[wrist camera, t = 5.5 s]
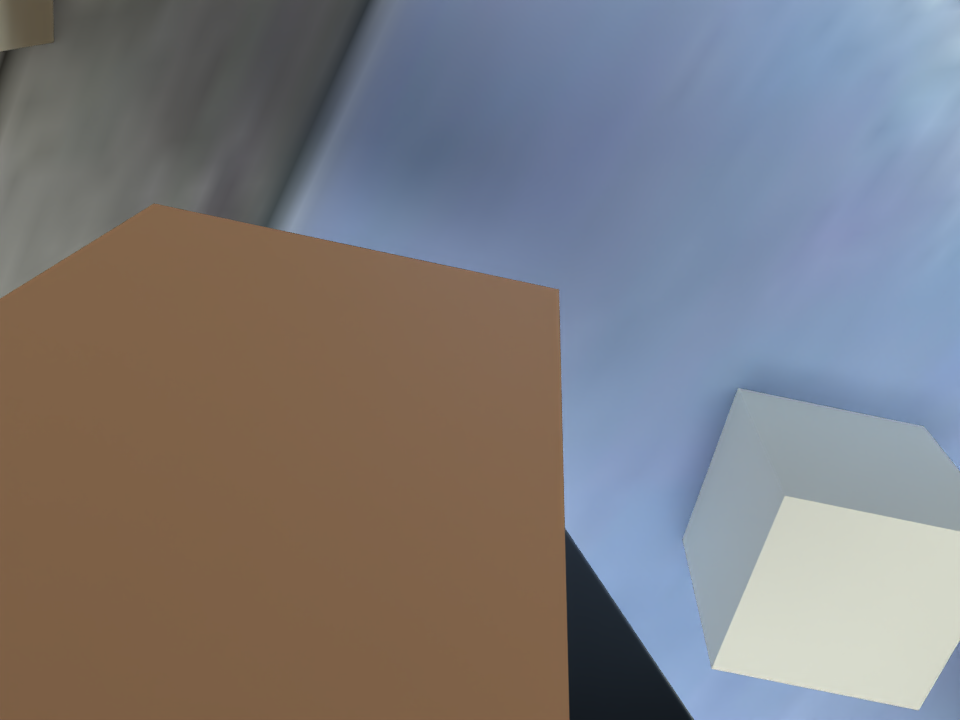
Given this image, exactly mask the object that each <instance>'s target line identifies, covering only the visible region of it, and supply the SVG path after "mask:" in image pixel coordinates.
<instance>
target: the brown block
mask: <svg viewBox="0 0 960 720" xmlns="http://www.w3.org/2000/svg"><path fill="white" fill-rule="evenodd" d="M0 720H569V683H568V641H567V600H566V559H565V517H564V476H563V434H562V393H561V352H560V310H559V289H554V288H550V287H545V286H540V285H535V284H531V283H526V282H521V281H517V280H512V279H507V278H503V277H498V276H493V275H488V274H484V273H479V272H474V271H470V270H465V269H460V268H455V267H451V266H446V265H441V264H437V263H432V262H427V261H422V260H418V259H413V258H408V257H404V256H399V255H394V254H389V253H385V252H380V251H375V250H371V249H366V248H361V247H356V246H352V245H347V244H342V243H338V242H333V241H328V240H323V239H319V238H314V237H309V236H305V235H300V234H295V233H291V232H286V231H281V230H276V229H272V228H267V227H262V226H258V225H253V224H248V223H243V222H239V221H234V220H229V219H225V218H220V217H215V216H210V215H206V214H201V213H196V212H192V211H187V210H182V209H177V208H173V207H168V206H163V205H159V204H152V205H151V206H149V207H148V208H146V209H144V210H143V211H141V212H140V213H138V214H136V215H135V216H133V217H131V218H130V219H128V220H127V221H125V222H123V223H122V224H120V225H119V226H117V227H115V228H114V229H112V230H110V231H109V232H107V233H106V234H104V235H102V236H101V237H99V238H98V239H96V240H94V241H93V242H91V243H89V244H88V245H86V246H85V247H83V248H81V249H80V250H78V251H77V252H75V253H73V254H72V255H70V256H68V257H67V258H65V259H64V260H62V261H60V262H59V263H57V264H56V265H54V266H52V267H51V268H49V269H47V270H46V271H44V272H43V273H41V274H39V275H38V276H36V277H35V278H33V279H31V280H30V281H28V282H26V283H25V284H23V285H22V286H20V287H18V288H17V289H15V290H14V291H12V292H10V293H9V294H7V295H5V296H4V297H2V298H1V299H0Z"/></svg>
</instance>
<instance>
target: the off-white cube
mask: <svg viewBox="0 0 960 720" xmlns="http://www.w3.org/2000/svg"><path fill="white" fill-rule="evenodd" d="M682 540H683V544H684V549H685V553H686V558H687V562H688V566H689V571H690V575H691V580H692V584H693V589H694V593H695V597H696V602H697V606H698V611H699V615H700V620H701V624H702V628H703V633H704V637H705V642H706V646H707V650H708V655H709V659H710V664H711V668H712V669H715V670H720V671H725V672H730V673H735V674H740V675H745V676H750V677H755V678H760V679H765V680H770V681H775V682H780V683H785V684H790V685H795V686H800V687H805V688H810V689H815V690H820V691H825V692H830V693H835V694H840V695H845V696H850V697H855V698H860V699H865V700H870V701H875V702H880V703H884V704H889V705H894V706H899V707H904V708H909V709H914V710H919V709H920V707H921V706H922V704H923V702H924V700H925V699H926V697H927V695H928V694H929V692H930V690H931V689H932V687H933V685H934V683H935V682H936V680H937V678H938V677H939V675H940V673H941V671H942V670H943V668H944V666H945V665H946V663H947V661H948V660H949V658H950V656H951V654H952V653H953V651H954V649H955V648H956V646H957V644H958V642H959V641H960V471H959V470H958V469H957V467H956V466H955V465H954V464H953V462H952V461H951V460H950V458H949V457H948V456H947V455H946V453H945V452H944V451H943V450H942V448H941V447H940V446H939V445H938V443H937V442H936V441H935V440H934V438H933V437H932V436H931V435H930V433H929V432H928V431H927V430H926V428H925V427H924V426H920V425H915V424H910V423H905V422H901V421H896V420H891V419H886V418H881V417H876V416H872V415H867V414H862V413H857V412H852V411H847V410H842V409H838V408H833V407H828V406H823V405H818V404H813V403H809V402H804V401H799V400H794V399H789V398H784V397H780V396H775V395H770V394H765V393H760V392H755V391H751V390H746V389H741V388H738V389H737V392H736V395H735V397H734V400H733V403H732V406H731V408H730V411H729V414H728V416H727V419H726V422H725V425H724V427H723V430H722V433H721V435H720V438H719V441H718V444H717V446H716V449H715V452H714V455H713V457H712V460H711V463H710V465H709V468H708V471H707V474H706V476H705V479H704V482H703V484H702V487H701V490H700V493H699V495H698V498H697V501H696V504H695V506H694V509H693V512H692V514H691V517H690V520H689V523H688V525H687V528H686V531H685V533H684V536H683V539H682Z"/></svg>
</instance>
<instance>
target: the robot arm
mask: <svg viewBox="0 0 960 720" xmlns="http://www.w3.org/2000/svg"><path fill="white" fill-rule="evenodd" d="M565 559H566V600H567V641H568V683H569V720H694V719H693V718H692V716H691V715H690V713H689V712H688V710H687V709H686V707H685V706H684V704H683V703H682V701H681V700H680V698H679V697H678V695H677V694H676V692H675V691H674V689H673V688H672V687H671V685H670V684H669V682H668V681H667V679H666V678H665V676H664V675H663V673H662V672H661V670H660V669H659V667H658V666H657V664H656V663H655V661H654V660H653V658H652V657H651V655H650V654H649V652H648V651H647V649H646V648H645V646H644V645H643V643H642V642H641V640H640V639H639V637H638V636H637V634H636V633H635V632H634V630H633V629H632V627H631V626H630V624H629V623H628V621H627V620H626V618H625V617H624V615H623V614H622V612H621V611H620V609H619V608H618V606H617V605H616V603H615V602H614V600H613V599H612V597H611V596H610V594H609V593H608V591H607V590H606V588H605V587H604V585H603V584H602V582H601V581H600V579H599V578H598V577H597V575H596V574H595V572H594V571H593V569H592V568H591V566H590V565H589V563H588V562H587V560H586V559H585V557H584V556H583V554H582V553H581V551H580V550H579V548H578V547H577V545H576V544H575V542H574V541H573V539H572V538H571V536H570V535H569V533H568V532H567V530H566V529H565Z"/></svg>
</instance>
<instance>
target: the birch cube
mask: <svg viewBox="0 0 960 720" xmlns="http://www.w3.org/2000/svg"><path fill="white" fill-rule="evenodd" d="M53 42H54V24H53V0H0V51H6V50H12V49H18V48H24V47H30V46H35V45H41V44H47V43H53Z"/></svg>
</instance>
